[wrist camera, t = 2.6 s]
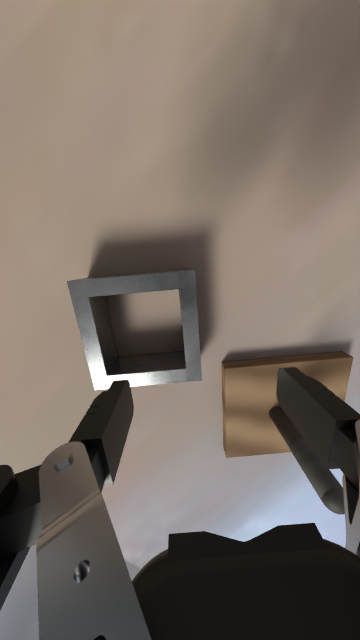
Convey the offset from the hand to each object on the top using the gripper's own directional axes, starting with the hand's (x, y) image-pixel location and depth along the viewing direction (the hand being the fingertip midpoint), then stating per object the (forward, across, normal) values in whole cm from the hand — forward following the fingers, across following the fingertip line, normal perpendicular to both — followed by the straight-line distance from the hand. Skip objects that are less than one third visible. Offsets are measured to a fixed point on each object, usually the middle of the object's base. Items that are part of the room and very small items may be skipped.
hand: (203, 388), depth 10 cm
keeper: (+12, -10, +12) cm, 20 cm away
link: (+12, +5, 0) cm, 13 cm away
